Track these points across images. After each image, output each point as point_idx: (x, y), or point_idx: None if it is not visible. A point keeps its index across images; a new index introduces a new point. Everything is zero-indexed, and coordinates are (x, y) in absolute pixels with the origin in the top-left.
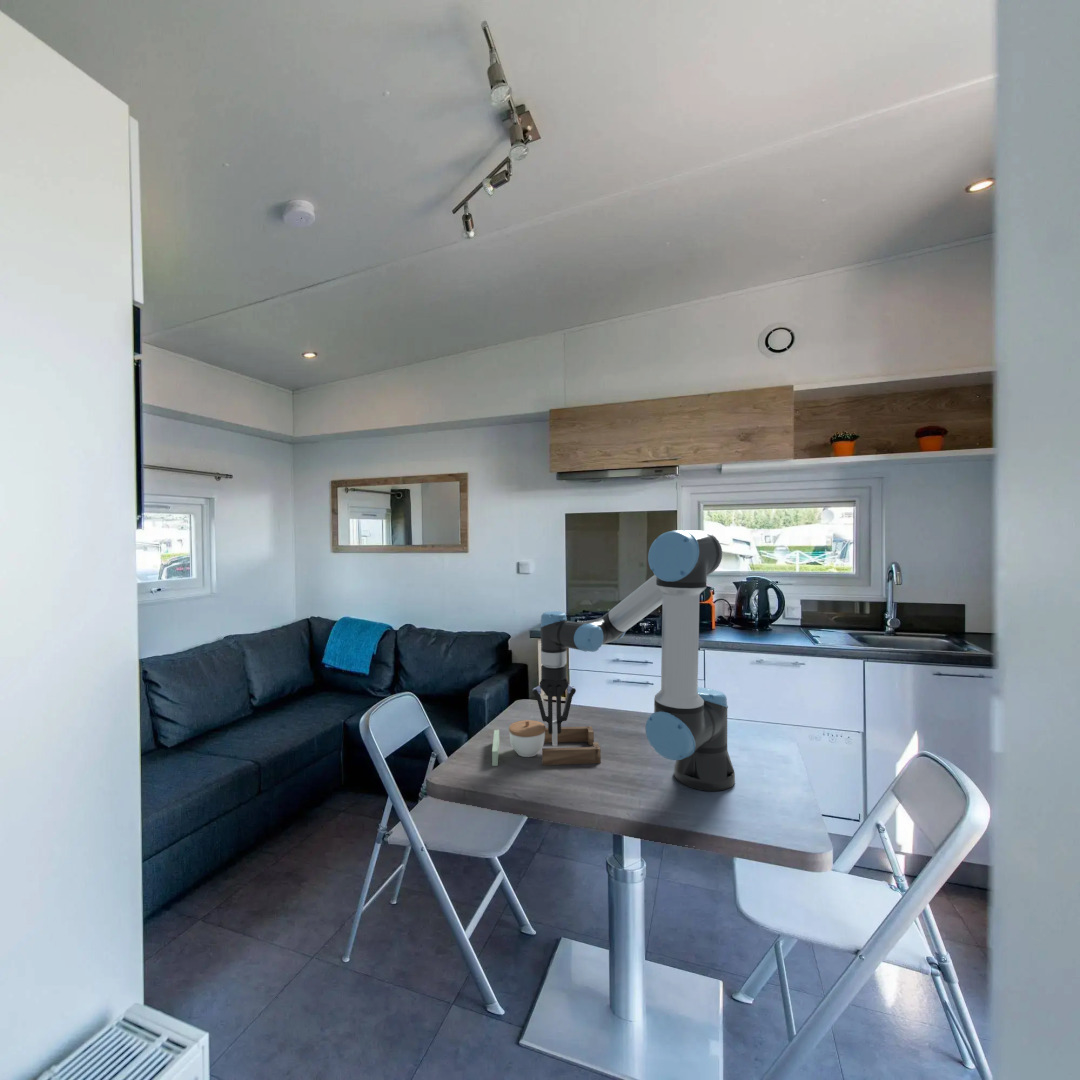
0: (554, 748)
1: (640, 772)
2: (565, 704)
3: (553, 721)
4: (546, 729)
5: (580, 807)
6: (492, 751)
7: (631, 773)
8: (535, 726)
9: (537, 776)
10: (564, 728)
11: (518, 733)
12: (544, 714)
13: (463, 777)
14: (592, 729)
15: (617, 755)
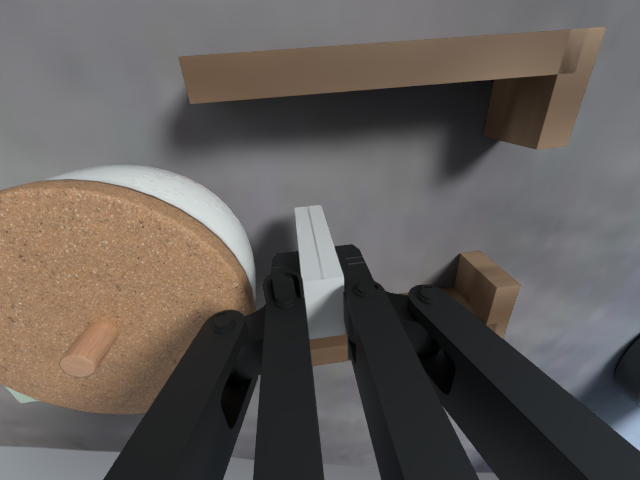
0: (312, 351)
1: (556, 338)
2: (520, 443)
3: (316, 297)
4: (245, 97)
5: (362, 462)
6: (22, 402)
7: (529, 345)
8: (176, 337)
9: (255, 385)
10: (390, 76)
11: (91, 409)
12: (234, 424)
13: (8, 415)
14: (580, 99)
15: (554, 239)
